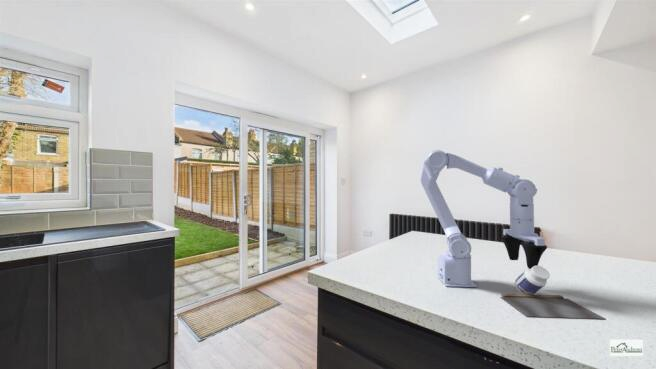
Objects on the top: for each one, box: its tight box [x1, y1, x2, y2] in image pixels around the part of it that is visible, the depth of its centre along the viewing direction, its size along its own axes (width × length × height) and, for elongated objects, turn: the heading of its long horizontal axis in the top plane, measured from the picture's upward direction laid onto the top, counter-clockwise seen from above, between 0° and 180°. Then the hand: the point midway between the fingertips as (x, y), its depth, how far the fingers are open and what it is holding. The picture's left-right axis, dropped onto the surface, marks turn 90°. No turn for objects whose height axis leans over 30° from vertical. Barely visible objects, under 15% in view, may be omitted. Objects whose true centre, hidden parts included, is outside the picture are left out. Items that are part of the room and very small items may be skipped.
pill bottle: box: [514, 265, 550, 295], centre depth 71 cm, size 5×5×9 cm
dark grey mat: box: [500, 293, 606, 320], centre depth 66 cm, size 18×11×1 cm, turn 86°
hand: (522, 263), depth 75 cm, fingers open, 7 cm apart
